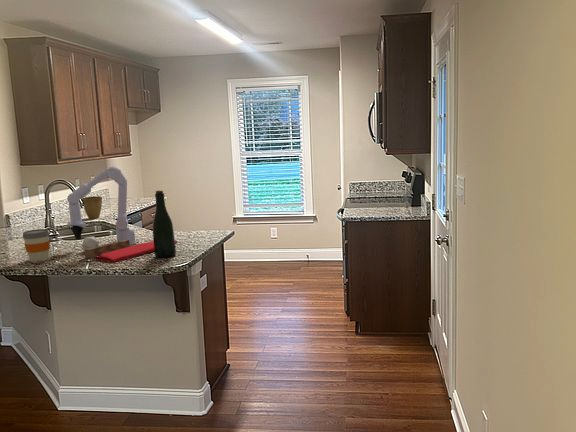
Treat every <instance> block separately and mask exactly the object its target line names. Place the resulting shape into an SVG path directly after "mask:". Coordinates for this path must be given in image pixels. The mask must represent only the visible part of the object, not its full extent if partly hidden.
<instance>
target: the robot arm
mask: <svg viewBox="0 0 576 432" xmlns="http://www.w3.org/2000/svg"><path fill="white" fill-rule="evenodd" d="M108 179H111V180H112V181H114V182H115V183H116V184H117V185H118V193H117V194H118V195H117V197H118V198H117V218H116V222H115V227H116V229H115V232H116V233H115V234H116V242H118V241H122V240H129V242H130V246H133V245H137V242H136V236H135V230H134V229H133V228H131V227H129V226H128V225H129V220H128V218H127V217H128V216H127V209H128V208H127V204H128V202H127V199H128V196H127V195H128V179H127V178H126V176H125V175H124V173H123V172H122V170H121V169H119V168H118V167H117V166H115V165H114V166H110V167H109V168H107V169H105V170H103V171H102V172H100V173H99V174H98V175H96V176H95V177H94V178H92V179H91V181H89V182H88V183H81V184H79V186H78V187H77V188H76V189H74V190H72V192H71V193H69V194H68V196H67V202H68V211H69V218H70V221H67V222H66V224H67V226H68V227H70V226H71V227H70V228H69V229H70V230H71V231H72V234H73V235H74V238H75V240H81V239H82V233H83V229H84V228H86V227H87V223H85V222H83V219H82V212H81V205H80V200H81V199H82V198H85V197H87V195H89V194H90V193H91V192H92V188H93V187H95V186H96V185H98V184H99V183H100V182H101V181H103V180H108Z"/></svg>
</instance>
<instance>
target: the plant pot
mask: <svg viewBox="0 0 576 432" xmlns="http://www.w3.org/2000/svg"><path fill="white" fill-rule="evenodd" d="M82 200H83V202H84V205H85V206H83V209H84V211H85V214H86V217H87V218H88V219H89V220H95V219H99V218H100V217H101V216H100V215H101V210H102V203H103V196H100V195H99V196H85V197H83V198H82ZM82 200H81V201H82Z"/></svg>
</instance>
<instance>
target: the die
mask: <svg viewBox="0 0 576 432" xmlns="http://www.w3.org/2000/svg"><path fill="white" fill-rule="evenodd" d="M99 244H100V242H99V241H98V239H97V238H96V237H95V236H88V237H84V238H83V241H82V244H81V247H82V248H83V250H85V249H89V248H93V247H97V246H100V245H99Z"/></svg>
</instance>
